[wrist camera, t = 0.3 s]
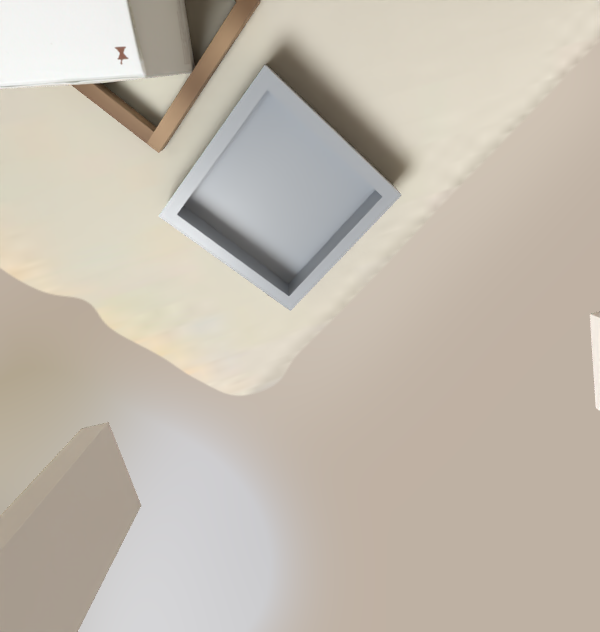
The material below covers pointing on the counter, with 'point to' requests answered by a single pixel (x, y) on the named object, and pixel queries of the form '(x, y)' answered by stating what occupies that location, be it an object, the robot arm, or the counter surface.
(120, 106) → the walnut collar
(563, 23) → the counter surface
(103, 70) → the supplement box
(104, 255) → the counter surface
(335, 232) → the grey tray
